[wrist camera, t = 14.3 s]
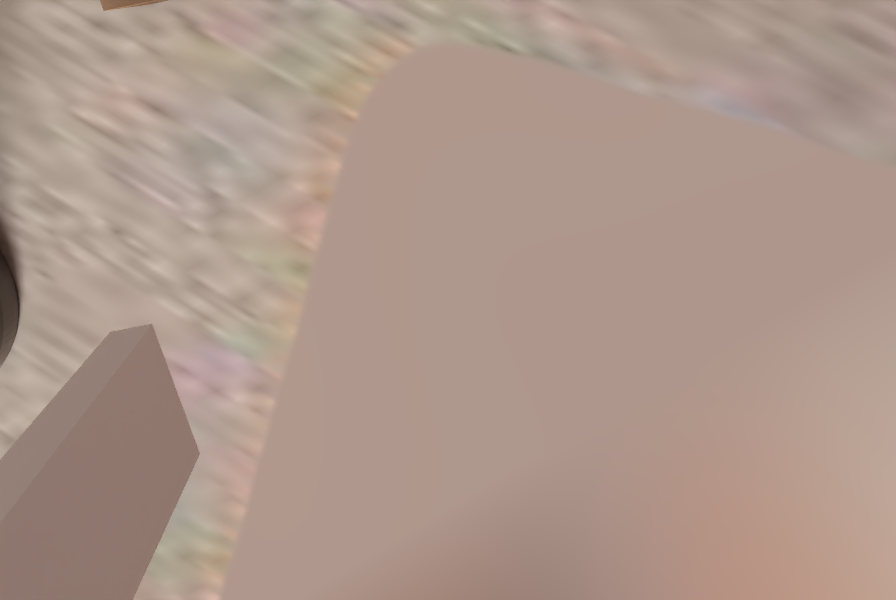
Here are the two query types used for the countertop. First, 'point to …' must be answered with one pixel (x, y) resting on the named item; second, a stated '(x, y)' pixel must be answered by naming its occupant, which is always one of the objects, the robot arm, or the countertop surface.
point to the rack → (125, 3)
